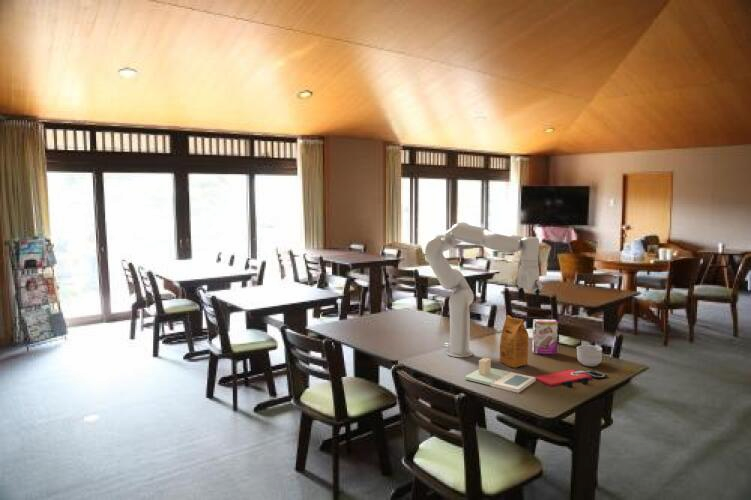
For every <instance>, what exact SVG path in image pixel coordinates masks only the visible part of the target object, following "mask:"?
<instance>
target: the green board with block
mask: <svg viewBox="0 0 751 500" xmlns="http://www.w3.org/2000/svg"><path fill="white" fill-rule="evenodd" d="M491 362H492V360H491V358H488V357H483V358H481V359H479V360H478V369H476V370H474V371H473V372H471V373H469V374H466V375H465V376H464V380H467V381H471V382H476V383H480V384H484V385H488V386H490V382H492V381H494V380H495V379H497V378H499V377H500V376H502V375H504V374H506V373H507V372H509V371H508V370H503V369H499V368H493V367H491V365H492V364H491Z"/></svg>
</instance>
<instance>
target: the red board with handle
mask: <svg viewBox="0 0 751 500" xmlns="http://www.w3.org/2000/svg"><path fill="white" fill-rule="evenodd" d="M532 377H535V378H536V381H535V382H539V383H541V384H543V385H545V386H548V387H550V388H551V387H557V386H561V385H563V386H566V388H572V387H573V383H576V382H582V385H588V384H589V380H590V379H593V378H594V379H600V378H605V377H609V375H608V374H604V373H602V372H599V371H595V369H593V370H587V371H585V370H576V369H573V368H568V369H565V370H559V371H554V372H550V373H549V372H547V373H544V374H540V375H539V374H538V375H533V376H532Z"/></svg>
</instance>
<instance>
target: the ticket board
mask: <svg viewBox="0 0 751 500" xmlns="http://www.w3.org/2000/svg"><path fill="white" fill-rule="evenodd" d="M535 382H537V381H536V378H535V377H533V376H529V375H525V374H523V373H522V374H521V373H517V372H513V371H508V372H507V373H506V374H504V375H502V376H500V377H499V378H497V379H495V380H494V381H492V382H490V385H489V386H490V387H493V388H497V389H500V390H504V391H509V392H513V393H517V394H519V393H520V392H522V391H523V390H525V389H526V388H528V387H529V386H530V385H531V384H533V383H535Z"/></svg>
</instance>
